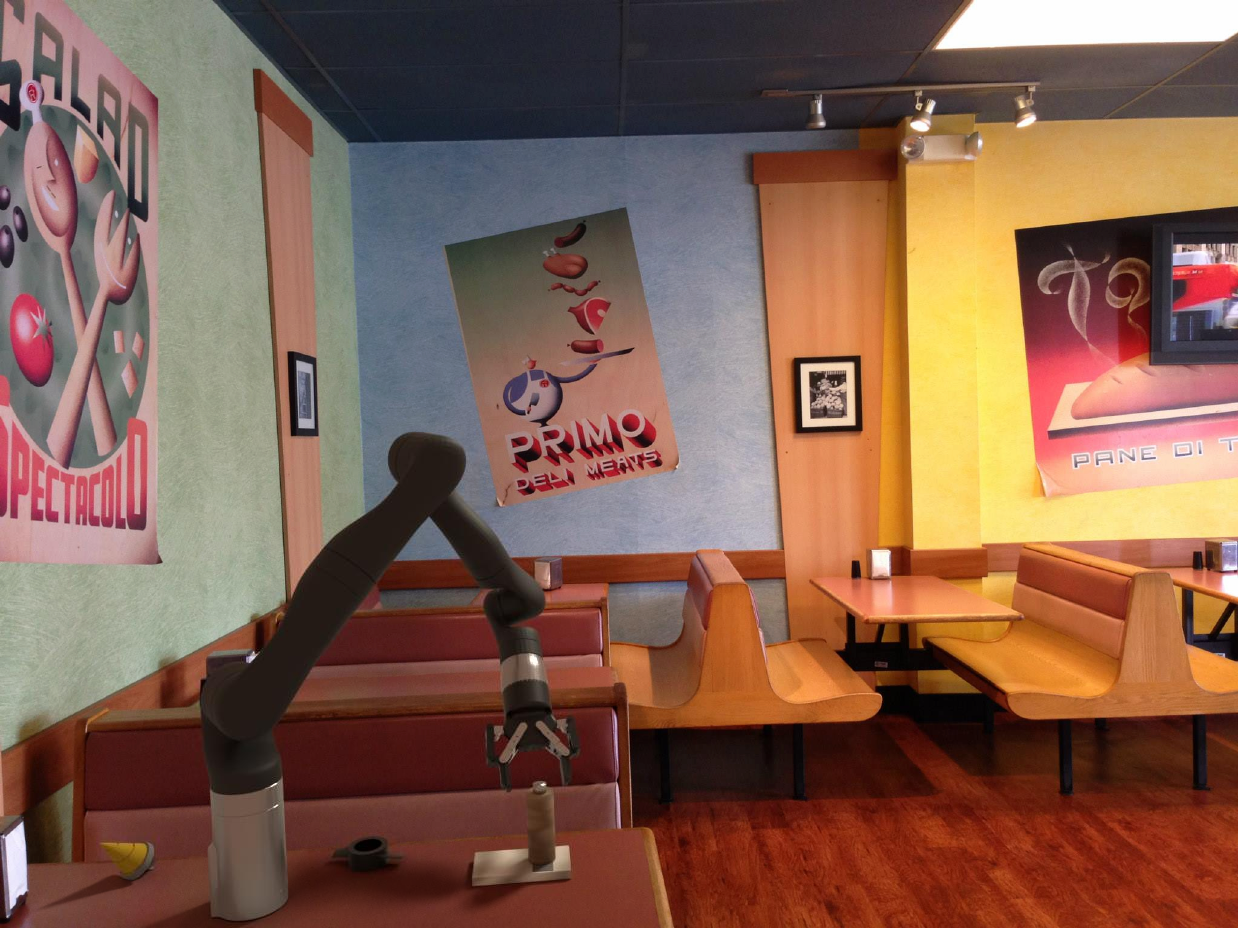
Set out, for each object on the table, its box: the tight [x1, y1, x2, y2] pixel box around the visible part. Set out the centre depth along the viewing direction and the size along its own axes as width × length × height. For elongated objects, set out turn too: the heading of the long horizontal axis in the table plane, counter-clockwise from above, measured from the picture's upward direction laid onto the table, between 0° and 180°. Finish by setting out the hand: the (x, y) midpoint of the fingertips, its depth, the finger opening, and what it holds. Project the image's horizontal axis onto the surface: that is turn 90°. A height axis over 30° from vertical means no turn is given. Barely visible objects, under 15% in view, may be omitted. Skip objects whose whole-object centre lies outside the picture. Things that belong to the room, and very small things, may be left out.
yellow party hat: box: [99, 840, 159, 881], centre depth 134 cm, size 5×5×10 cm
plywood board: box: [471, 845, 572, 887], centre depth 134 cm, size 14×8×1 cm, turn 96°
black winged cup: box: [331, 835, 406, 873], centre depth 137 cm, size 8×10×3 cm
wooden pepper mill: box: [525, 780, 556, 865], centre depth 134 cm, size 4×4×11 cm
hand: (537, 786), depth 136 cm, fingers open, 8 cm apart
